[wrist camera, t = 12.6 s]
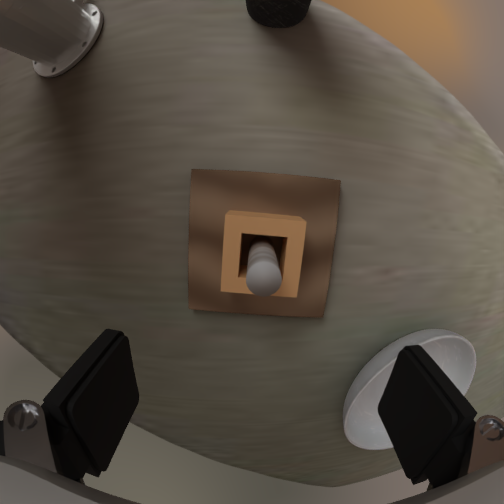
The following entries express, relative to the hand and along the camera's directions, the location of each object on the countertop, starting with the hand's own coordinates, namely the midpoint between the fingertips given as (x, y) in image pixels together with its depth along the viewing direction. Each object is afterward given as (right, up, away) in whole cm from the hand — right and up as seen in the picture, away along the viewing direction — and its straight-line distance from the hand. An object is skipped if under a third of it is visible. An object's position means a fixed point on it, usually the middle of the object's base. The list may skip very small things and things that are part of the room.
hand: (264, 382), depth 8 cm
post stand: (+1, +5, +22) cm, 22 cm away
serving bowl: (+21, -14, +26) cm, 36 cm away
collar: (+1, +5, +20) cm, 21 cm away
